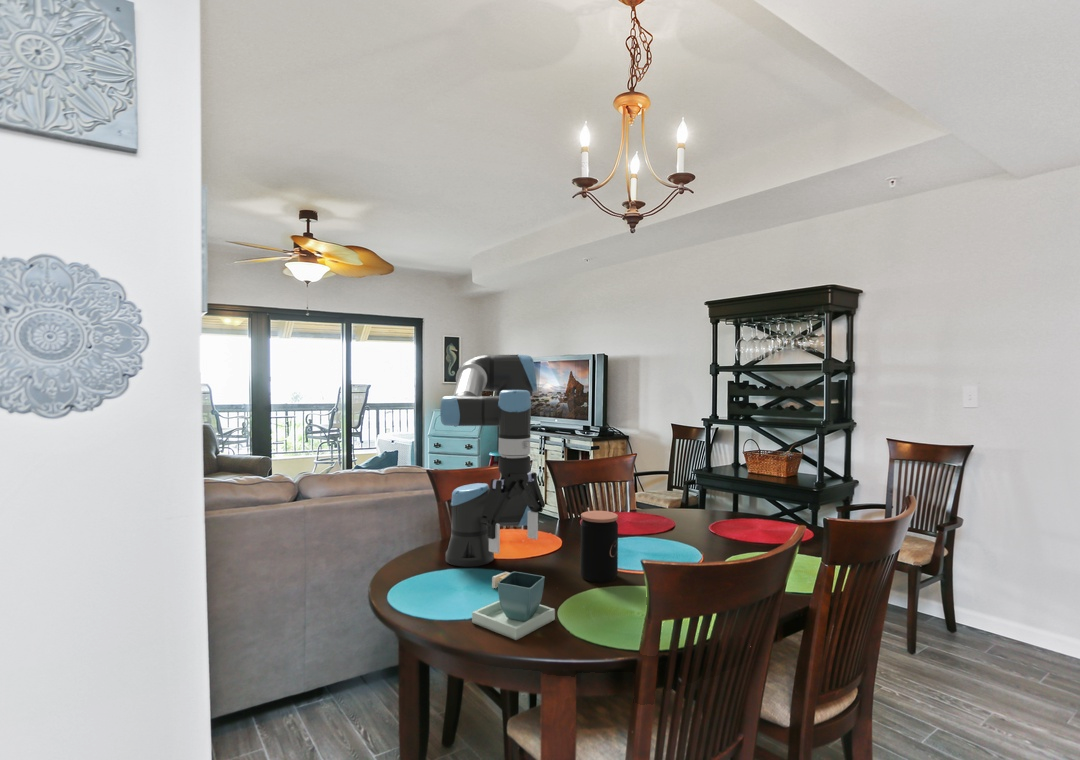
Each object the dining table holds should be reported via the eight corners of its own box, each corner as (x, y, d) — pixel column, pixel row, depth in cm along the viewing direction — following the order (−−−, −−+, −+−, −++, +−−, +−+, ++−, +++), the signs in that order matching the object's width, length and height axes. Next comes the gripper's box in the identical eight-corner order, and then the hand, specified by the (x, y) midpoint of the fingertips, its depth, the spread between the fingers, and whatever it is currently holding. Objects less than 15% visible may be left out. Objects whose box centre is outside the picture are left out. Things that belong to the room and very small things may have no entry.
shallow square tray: (472, 622, 133) (472, 612, 133) (511, 604, 144) (511, 594, 144) (516, 640, 125) (516, 628, 125) (554, 619, 135) (554, 609, 135)
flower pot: (545, 612, 138) (545, 575, 138) (530, 627, 130) (530, 588, 130) (512, 606, 142) (512, 570, 141) (496, 620, 133) (496, 582, 133)
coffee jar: (616, 585, 158) (616, 520, 158) (578, 582, 160) (578, 518, 160) (618, 572, 169) (619, 511, 169) (582, 569, 171) (583, 509, 171)
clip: (492, 587, 156) (492, 576, 156) (505, 582, 160) (505, 571, 160) (523, 598, 148) (523, 586, 148) (537, 592, 153) (537, 581, 153)
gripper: (488, 464, 122) (488, 562, 123) (559, 451, 141) (558, 535, 142) (464, 460, 127) (464, 554, 127) (536, 448, 146) (535, 530, 147)
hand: (514, 545), depth 135 cm, fingers open, 13 cm apart
